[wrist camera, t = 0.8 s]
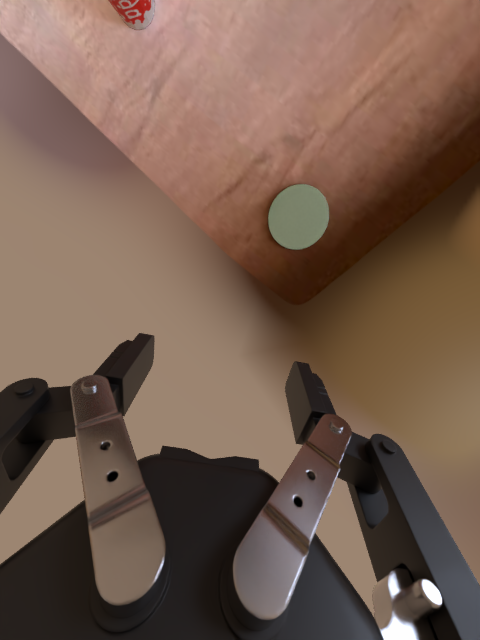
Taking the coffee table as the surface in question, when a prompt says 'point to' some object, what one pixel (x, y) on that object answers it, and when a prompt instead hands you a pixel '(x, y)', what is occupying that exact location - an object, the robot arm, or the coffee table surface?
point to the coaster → (298, 216)
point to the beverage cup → (135, 12)
